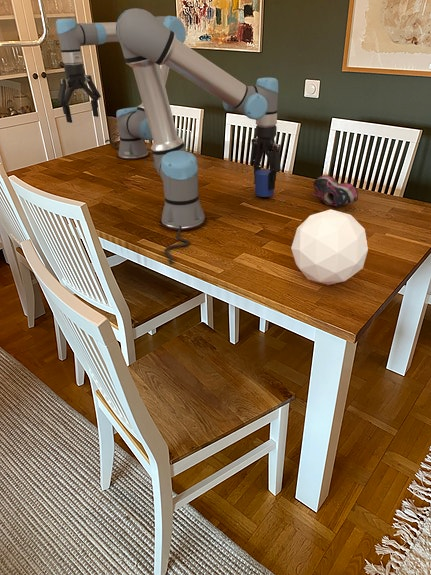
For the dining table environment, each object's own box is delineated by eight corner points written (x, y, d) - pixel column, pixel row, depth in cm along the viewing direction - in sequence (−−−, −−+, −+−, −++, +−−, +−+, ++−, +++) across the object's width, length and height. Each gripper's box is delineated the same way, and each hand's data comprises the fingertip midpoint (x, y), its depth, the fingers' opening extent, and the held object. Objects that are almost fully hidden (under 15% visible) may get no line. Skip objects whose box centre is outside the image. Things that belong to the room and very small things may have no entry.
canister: (251, 193, 174) (251, 171, 170) (265, 188, 178) (265, 167, 173) (263, 198, 169) (264, 176, 165) (277, 193, 173) (278, 172, 168)
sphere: (335, 308, 121) (353, 282, 102) (274, 269, 126) (281, 237, 107) (370, 256, 126) (393, 222, 107) (310, 220, 131) (322, 182, 112)
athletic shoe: (322, 174, 175) (297, 182, 171) (360, 169, 156) (333, 177, 152) (327, 202, 178) (303, 210, 174) (365, 200, 158) (339, 209, 155)
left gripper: (51, 67, 167) (63, 126, 178) (103, 61, 183) (111, 114, 194) (40, 66, 171) (52, 123, 182) (92, 60, 187) (100, 113, 198)
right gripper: (293, 128, 154) (289, 191, 167) (255, 119, 168) (254, 177, 181) (277, 131, 151) (274, 195, 163) (240, 122, 165) (240, 181, 177)
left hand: (83, 119), depth 188 cm, fingers open, 13 cm apart
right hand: (264, 186), depth 172 cm, fingers closed on canister, 7 cm apart
